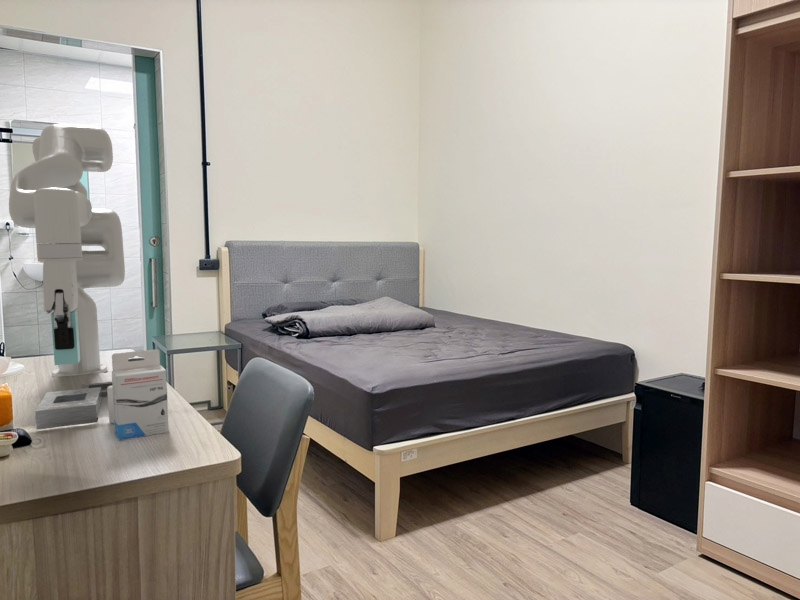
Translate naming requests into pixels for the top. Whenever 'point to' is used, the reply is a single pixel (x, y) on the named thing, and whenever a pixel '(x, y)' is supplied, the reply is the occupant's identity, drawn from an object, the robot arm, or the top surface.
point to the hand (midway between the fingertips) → (66, 346)
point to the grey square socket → (102, 385)
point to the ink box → (139, 395)
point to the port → (68, 408)
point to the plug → (68, 354)
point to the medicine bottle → (110, 396)
